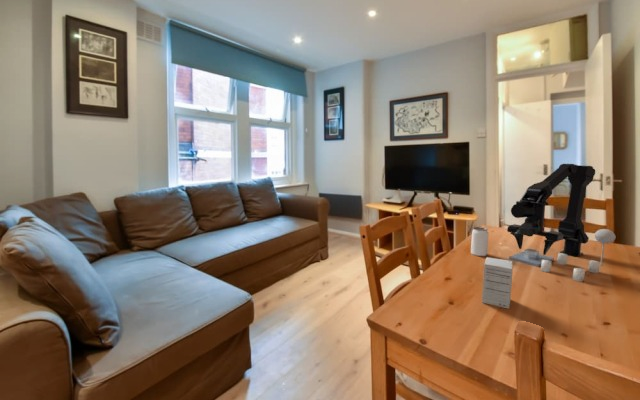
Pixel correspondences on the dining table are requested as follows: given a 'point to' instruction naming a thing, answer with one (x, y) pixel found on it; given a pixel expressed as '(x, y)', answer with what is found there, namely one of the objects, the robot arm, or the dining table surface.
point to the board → (534, 262)
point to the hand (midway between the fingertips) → (531, 251)
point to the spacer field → (578, 272)
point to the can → (479, 241)
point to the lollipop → (604, 238)
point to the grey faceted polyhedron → (531, 253)
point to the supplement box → (497, 282)
